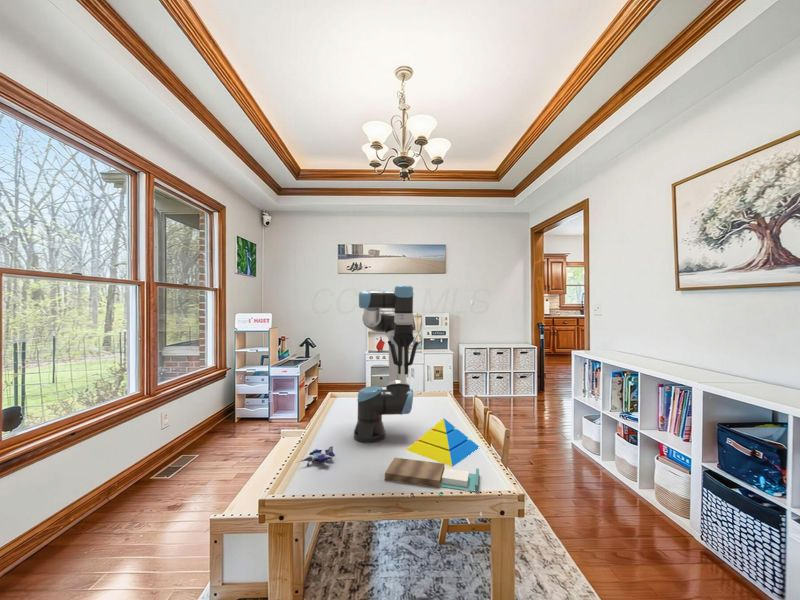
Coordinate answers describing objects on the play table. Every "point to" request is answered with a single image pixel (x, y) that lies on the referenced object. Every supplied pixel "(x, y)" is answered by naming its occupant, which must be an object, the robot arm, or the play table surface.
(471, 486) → the mat
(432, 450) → the pyramid toy
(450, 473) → the tile
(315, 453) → the toy airplane
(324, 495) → the play table surface
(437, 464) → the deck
